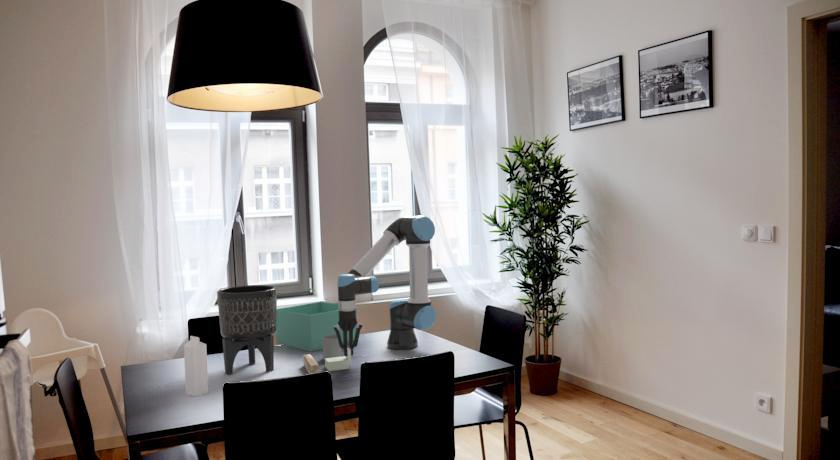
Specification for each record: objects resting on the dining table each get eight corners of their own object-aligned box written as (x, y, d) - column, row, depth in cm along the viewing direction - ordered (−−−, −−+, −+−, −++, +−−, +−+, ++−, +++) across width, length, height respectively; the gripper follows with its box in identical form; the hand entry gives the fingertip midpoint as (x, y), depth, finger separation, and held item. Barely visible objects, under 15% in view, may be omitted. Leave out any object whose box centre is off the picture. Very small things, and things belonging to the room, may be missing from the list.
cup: (337, 360, 279) (337, 339, 279) (320, 360, 281) (319, 338, 281) (343, 356, 288) (342, 335, 287) (327, 355, 289) (326, 334, 289)
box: (321, 333, 341) (320, 301, 340) (357, 340, 321) (356, 306, 320) (276, 343, 319) (274, 309, 318) (311, 351, 299) (310, 315, 298)
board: (310, 365, 273) (310, 354, 273) (318, 376, 254) (318, 364, 254) (303, 366, 272) (303, 354, 272) (311, 377, 253) (311, 365, 253)
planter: (290, 363, 277) (287, 285, 275) (258, 379, 253) (255, 293, 251) (243, 360, 285) (240, 284, 283) (208, 375, 261) (204, 292, 260)
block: (345, 365, 272) (344, 356, 272) (349, 368, 266) (348, 359, 265) (325, 367, 269) (324, 358, 269) (328, 371, 263) (328, 362, 262)
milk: (199, 390, 240) (197, 334, 240) (208, 392, 237) (206, 335, 236) (185, 394, 235) (183, 337, 235) (194, 396, 232) (192, 338, 231)
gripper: (359, 307, 273) (361, 359, 274) (330, 309, 269) (332, 362, 270) (363, 309, 266) (365, 363, 267) (334, 312, 262) (336, 367, 263)
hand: (348, 363), depth 269 cm, fingers closed
